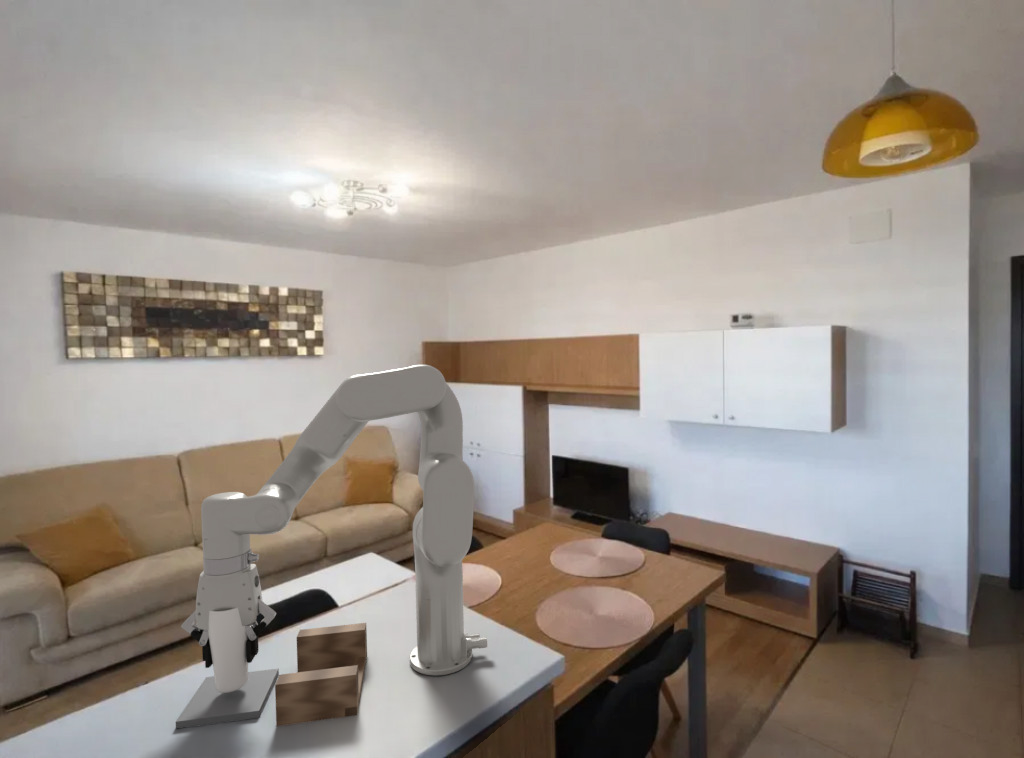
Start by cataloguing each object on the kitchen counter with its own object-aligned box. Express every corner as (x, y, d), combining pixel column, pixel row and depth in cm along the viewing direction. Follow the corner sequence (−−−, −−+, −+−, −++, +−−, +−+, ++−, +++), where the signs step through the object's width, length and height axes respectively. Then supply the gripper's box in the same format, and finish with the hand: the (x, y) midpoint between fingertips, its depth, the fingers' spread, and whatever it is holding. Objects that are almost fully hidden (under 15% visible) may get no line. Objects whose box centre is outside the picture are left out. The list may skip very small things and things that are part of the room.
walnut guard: (367, 656, 108) (366, 622, 108) (357, 715, 90) (356, 674, 89) (300, 664, 106) (299, 629, 106) (276, 726, 87) (275, 684, 87)
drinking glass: (234, 698, 91) (231, 613, 90) (201, 695, 92) (197, 610, 92) (261, 676, 97) (257, 596, 97) (229, 673, 99) (225, 594, 98)
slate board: (278, 674, 102) (278, 668, 102) (259, 717, 89) (259, 710, 89) (206, 683, 100) (206, 677, 100) (175, 728, 87) (175, 721, 87)
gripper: (283, 551, 100) (286, 644, 100) (184, 559, 96) (187, 656, 97) (272, 565, 92) (276, 666, 93) (164, 575, 89) (169, 679, 89)
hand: (231, 660), depth 95 cm, fingers closed on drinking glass, 6 cm apart
